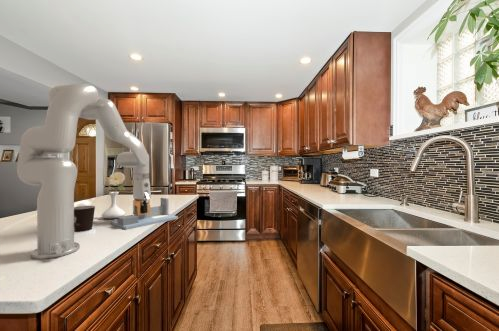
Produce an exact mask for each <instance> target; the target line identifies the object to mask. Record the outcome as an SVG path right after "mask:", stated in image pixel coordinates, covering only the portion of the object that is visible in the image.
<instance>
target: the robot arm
mask: <svg viewBox="0 0 499 331" xmlns="http://www.w3.org/2000/svg"><path fill="white" fill-rule="evenodd" d="M48 97H49V100H50V103H49V105H48V108H47V111H46V116H45V121H44V125H41V126H33V127H29V128H28V129H27V130H26V131H24V133H23V134H22V136H21V138H20V142H19V149H18V156H17V164H16V172H17V176H18V178H19V180H20V181H21V182H23V183H24V184H26V185H29V186H39V187H40V186H41V188H40V190H39V192H38V195H37V199H36V214H37V215H36V216H37V217H36V223H37V224H36V225H37V226H36V229H37V230H36V231H37V233H36V236H37V238H36V242H37V244H36V246H37V247H36V248H35V249H34V250H32V251H31V252H30V257H31V258H32V259H39V260H40V259H42V260H43V259H46V260H47V259H53V258H58V257H62V256H67V255H70V254H72V253H75V252H76V251H78V250H79V249H80V247H81V246H80V245H81V244H80V243H78V242H75V229H74V207H75V201H74V200H75V187H76V182H77V177H78V168H77V166H76V164H75V163H74V162H73V161H72V160H70V159H68V158H66V157H60V156H59V157H56V156H54V157H53V156H52V155H58V154H59V155H63V154H67V153H70V152H72V151H73V150H74V148H75V146H76V139H77V138H76V137H77V132H78V130H77V128H78V123H79V122H78V121H79V118H81V119H85V120H90V121H91V120H94V121H95V120H97V121H98V123H99V125H100V127H101V128H102V130H103V132H104V134H105V135H106V138H108V139H109V140H111V141H114V142H116V143H118V144H121V145H123V146H124V147H127V148H128V149H129V150H130V151H123V152H121V153H118V155H117V157H116V163H117V164H118V165H119V166H120V167H122V168H132V180H133V186H132V187H133V188H132V196H133V199H134V200H141V204H142V206H141V214H143V213H147V205H148V202H149V200H151V198H152V196H151V194H152V192H151V183H150V155H149V153H148V151H147V149H146V147H145V145H144V143H143V142H142V141H141V140H140V139H139V138H138V137H136V136H135V135H134V134H133V133H132V132H130V131H129V130H128V129H127V127H126V125H125V123H124V121H123V119H122V116H121V115H120V113H119V110H118V109H117V106H116V105H115V102H113V101H112V100H111V99H108V98H99V91H98V89H97V87H95V86H94V85H93V84H90V83H85V82H84V83H83V82H82V83H73V84H72V83H71V84H63V85H61V84H60V85H56V86H54V87H52V88H51V89H50V91H49V93H48ZM144 200H145V201H144ZM143 201H144V202H143Z"/></svg>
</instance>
